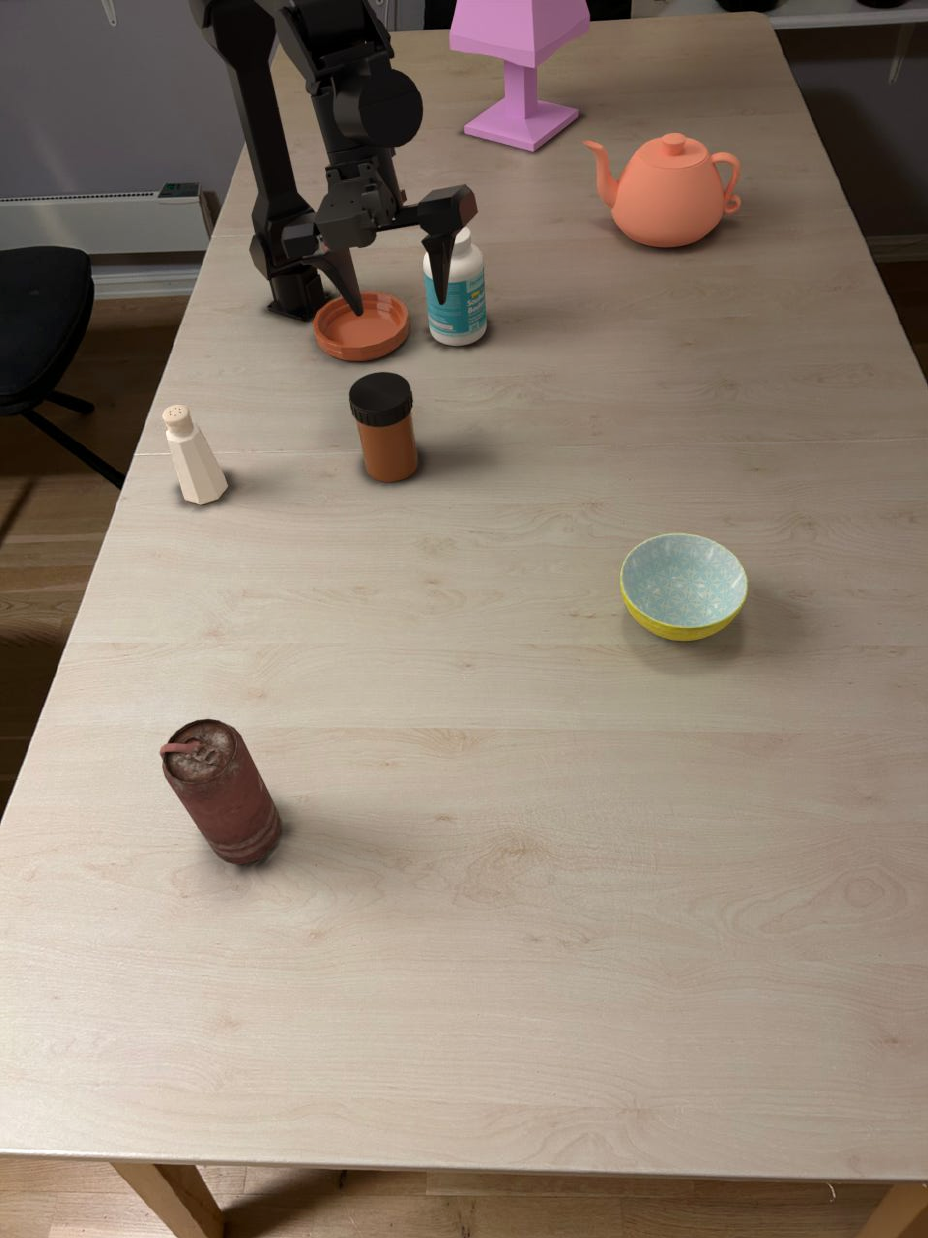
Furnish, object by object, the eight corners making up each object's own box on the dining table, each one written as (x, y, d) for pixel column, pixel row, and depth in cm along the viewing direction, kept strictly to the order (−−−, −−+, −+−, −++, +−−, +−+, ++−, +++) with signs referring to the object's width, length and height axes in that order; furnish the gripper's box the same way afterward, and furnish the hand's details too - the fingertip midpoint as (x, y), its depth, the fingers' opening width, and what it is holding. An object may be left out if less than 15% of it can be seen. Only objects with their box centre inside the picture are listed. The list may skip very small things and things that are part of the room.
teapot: (578, 255, 130) (580, 166, 120) (582, 197, 140) (585, 111, 130) (740, 255, 127) (756, 165, 118) (733, 197, 137) (748, 108, 127)
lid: (339, 416, 99) (335, 400, 98) (373, 380, 103) (371, 364, 101) (391, 434, 97) (388, 418, 95) (424, 397, 100) (422, 381, 99)
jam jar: (355, 472, 106) (340, 403, 98) (384, 440, 109) (372, 371, 101) (399, 488, 104) (388, 419, 96) (428, 455, 107) (419, 386, 99)
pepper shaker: (210, 465, 108) (182, 388, 100) (238, 487, 106) (211, 410, 97) (171, 489, 106) (139, 413, 97) (198, 512, 104) (167, 436, 95)
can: (211, 804, 81) (159, 719, 70) (283, 796, 81) (243, 710, 70) (205, 870, 77) (149, 791, 66) (281, 862, 77) (238, 781, 66)
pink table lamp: (509, 96, 162) (502, -159, 135) (586, 115, 156) (595, -149, 128) (456, 134, 155) (437, -128, 127) (535, 155, 149) (533, -116, 121)
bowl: (708, 686, 85) (719, 646, 80) (595, 637, 89) (598, 596, 84) (755, 601, 91) (767, 559, 86) (646, 559, 95) (652, 516, 90)
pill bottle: (481, 350, 118) (475, 252, 108) (424, 347, 120) (413, 249, 109) (492, 316, 123) (487, 218, 112) (437, 312, 124) (427, 215, 113)
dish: (298, 348, 121) (294, 331, 119) (352, 299, 127) (349, 282, 125) (376, 373, 117) (373, 357, 115) (427, 321, 123) (425, 304, 121)
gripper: (229, 184, 83) (288, 351, 92) (421, 144, 76) (464, 328, 85) (283, 154, 91) (331, 310, 100) (460, 115, 85) (495, 286, 94)
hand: (400, 309), depth 95 cm, fingers open, 9 cm apart
